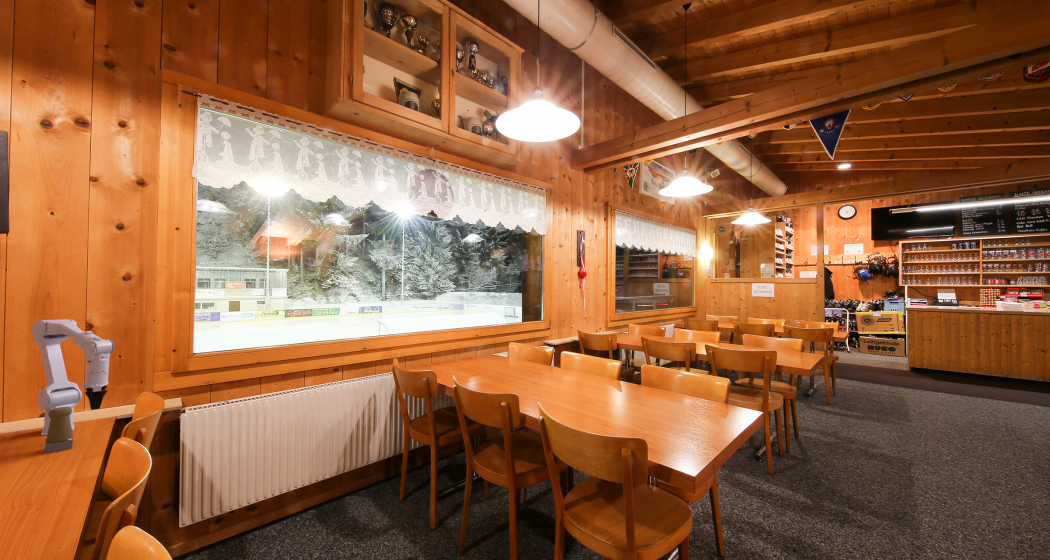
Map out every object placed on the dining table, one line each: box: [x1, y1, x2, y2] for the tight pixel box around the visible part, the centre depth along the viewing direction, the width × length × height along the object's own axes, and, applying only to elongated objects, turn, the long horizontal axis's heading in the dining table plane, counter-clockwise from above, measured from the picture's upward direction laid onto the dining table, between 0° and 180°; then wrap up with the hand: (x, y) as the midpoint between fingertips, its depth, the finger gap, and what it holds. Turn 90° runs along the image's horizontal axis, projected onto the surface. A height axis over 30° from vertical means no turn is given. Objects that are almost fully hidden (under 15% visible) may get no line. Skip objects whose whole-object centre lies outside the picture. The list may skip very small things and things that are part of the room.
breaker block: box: [43, 436, 74, 455], centre depth 131 cm, size 6×6×3 cm
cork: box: [45, 407, 74, 443], centre depth 132 cm, size 6×6×11 cm
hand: (95, 407), depth 145 cm, fingers open, 7 cm apart
